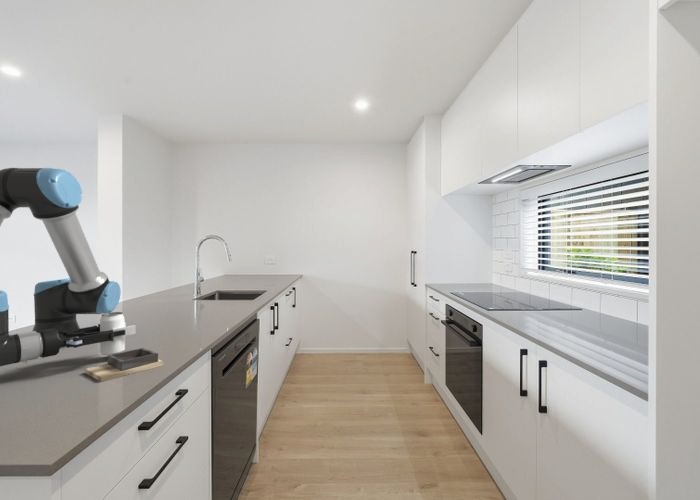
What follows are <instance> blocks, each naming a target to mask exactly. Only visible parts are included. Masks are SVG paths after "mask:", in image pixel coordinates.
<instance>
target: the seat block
mask: <svg viewBox="0 0 700 500" xmlns="http://www.w3.org/2000/svg"><path fill="white" fill-rule="evenodd" d="M161 366H162V367H163V366H164V361H163V360H162V359H160V358H159V353H158V352H155V351H152V350H150V349H147V348H145V347H141V348H136V349H132V350H126V351H123V352H121V353H117V354H111V355H107V363H104V364H100V365H96V366H91V367H88V368H85V369H84V370H85V374H87V375H88V376H90V377H92V378H94V379H95V380H97V381H99V382H100V383H102V382H105V381H110V380H114V379H117V377H118V378H122V377H125V376H129V375H132V374H136V373H139V372H143V371H146V370H151V369H155V368H158V367H161ZM128 374H129V375H128ZM124 375H125V376H124Z"/></svg>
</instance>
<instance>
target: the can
mask: <svg viewBox="0 0 700 500" xmlns="http://www.w3.org/2000/svg"><path fill="white" fill-rule="evenodd" d="M125 322H126V321H125V316H124V313H123V312H122V311H115V312H114V311H112V312H110V313H105V314H101V317H100V320H99V324H100V332H101V331H109V330H112V329H116V328H121V327H125ZM99 345H100V346H99V348H100V350H99V351H100V353H101V355H105V356H108V355H113V354H117V353H122V352H125V350H126V336H122V337H117V338H113V341H106V342H100V343H99Z"/></svg>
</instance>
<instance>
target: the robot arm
mask: <svg viewBox="0 0 700 500" xmlns="http://www.w3.org/2000/svg"><path fill="white" fill-rule="evenodd" d="M82 194H83V189H82V188H81V185H80V182H79V181H78V180H77V177H75V175H73V174H72V173H70V172H69V171H68V170H67V171H66V170H65V169H61V168H52V167H37V168H34V167H26V168H24V167H20V168H19V167H9V168H3V169H0V227H1V226H2V224H3V222H4V220H6V219H8V218H10V217H11V216H12V214H13V213H14V211H15V210H16V209H18V208H28V209H29V210H30V212H31V214H32V216H33V218H35V219H37V220H40V221H41V222H43V224H44V227H45V228H46V231H47V233H48V235H49V237H50V240H51V242H52V243H53V246H54V248H55V250H56V252H57V253H58V256H59V258H60V260H61V262H62V264H63V267H64V269H65V271H66V273H67V275H68V277H69V278H62V279H55V280H46V281H39V282H38V283H36V284H35V285H34V293H33V296H34V297H33V299H34V300H33V302H34V307H33V308H34V325H33V329H32V331H26V332H21V333H19V332H18V333H15V334H9V333H10V332H9V324H10V322H9V318H10V317H9V309H10V305H9V302H8V294H7V292H6V291H4V290H0V367H3V366H8V365H14V364H18V363H19V364H20V363H23V364H28V361H33V360H37V359H39V357H40V358H41V359H43V358H47V357H54V356H57V355H58V354H59V353H60V349H61V348H63V347H65V348H74V349H75V348H76V349H77V348H80V347H84V346H88V345H95V344H100V342H106V341H113V338H117V337H122V336H125V337H126V336H130V335H131V336H132V335H135V334H136V333H137V331H136V330H137V329H136V328H137V327H136V326H137V325H136V324H134V325H128V326H127V322H126V321H125V327H121V328H116V329H112V330H109V331H101V332H100V323H97V325H93V326H87V327H82V328H81V327H80V325H79V323H78V320H77V315H102V314H105V313H112V312H114V310H115V309H116V308H117V306H118V305H119V302H120V300H121V294H122V293H121V292H122V291H121V287H120V284H119V283H118V282H116V281H114V280H112V281H110V280H109V277H108V275H107V274H106V273H105V272H104V271H100V269H99V265H98V264H97V262H96V259H95V256H94V255H93V252H92V250H91V248H90V245H89V242H88V240H87V237H86V235H85V232H84V230H83V228H82V226H81V224H80V221H79V219H78V215H77V211H78V210H79V208H80V207H79V205H80V204H81V202H82V199H83V196H82Z"/></svg>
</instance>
